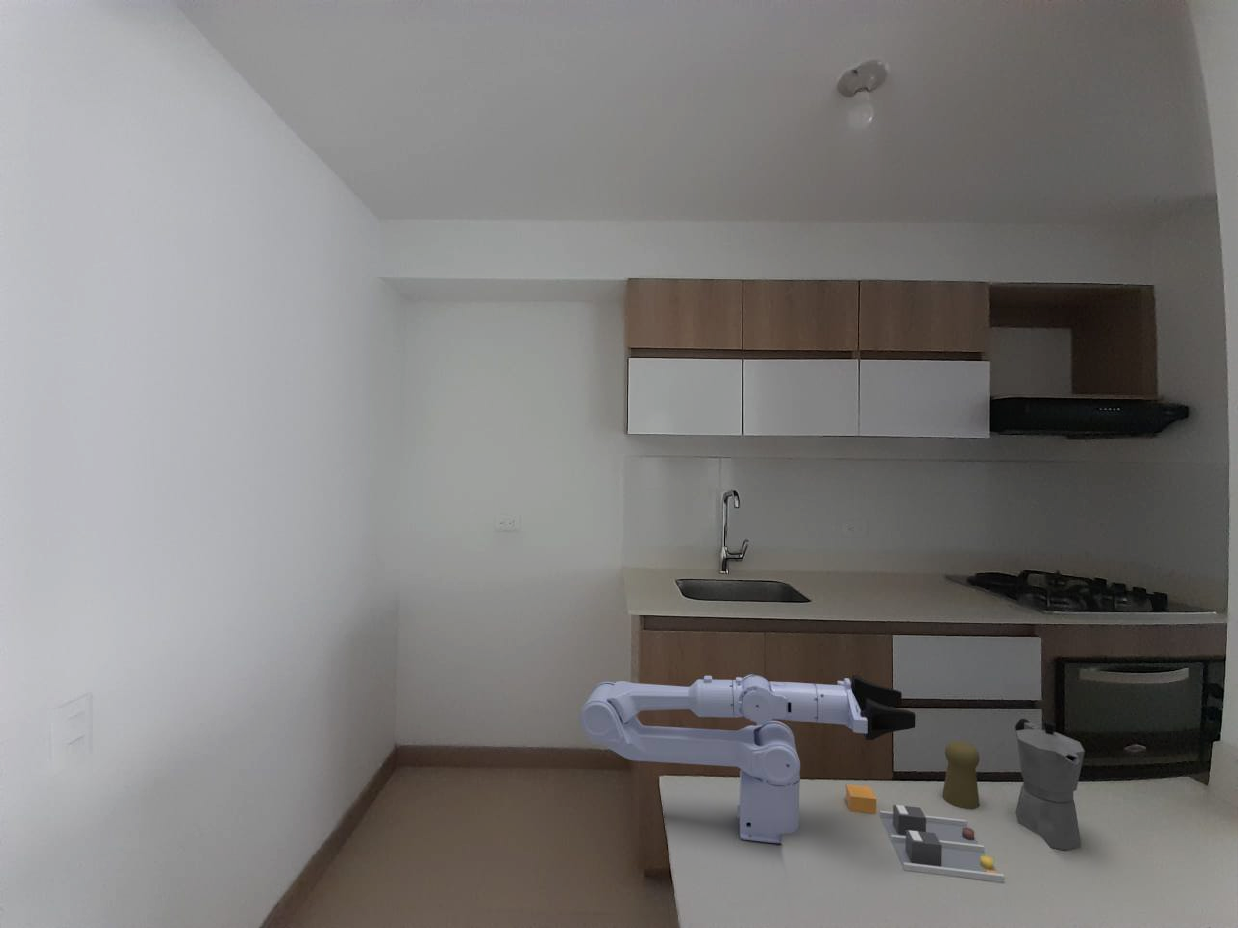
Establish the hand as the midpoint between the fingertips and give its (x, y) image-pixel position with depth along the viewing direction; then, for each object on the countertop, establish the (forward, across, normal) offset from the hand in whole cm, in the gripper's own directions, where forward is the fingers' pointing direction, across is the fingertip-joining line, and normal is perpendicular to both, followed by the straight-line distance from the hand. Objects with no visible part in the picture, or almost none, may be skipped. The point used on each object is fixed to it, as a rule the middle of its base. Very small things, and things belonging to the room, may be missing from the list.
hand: (907, 708), depth 97 cm
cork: (+12, +12, +22) cm, 28 cm away
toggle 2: (+1, -6, +19) cm, 20 cm away
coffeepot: (+23, +8, +22) cm, 33 cm away
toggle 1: (+1, +1, +20) cm, 20 cm away
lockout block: (-5, +7, +22) cm, 23 cm away
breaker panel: (+4, -3, +21) cm, 22 cm away
